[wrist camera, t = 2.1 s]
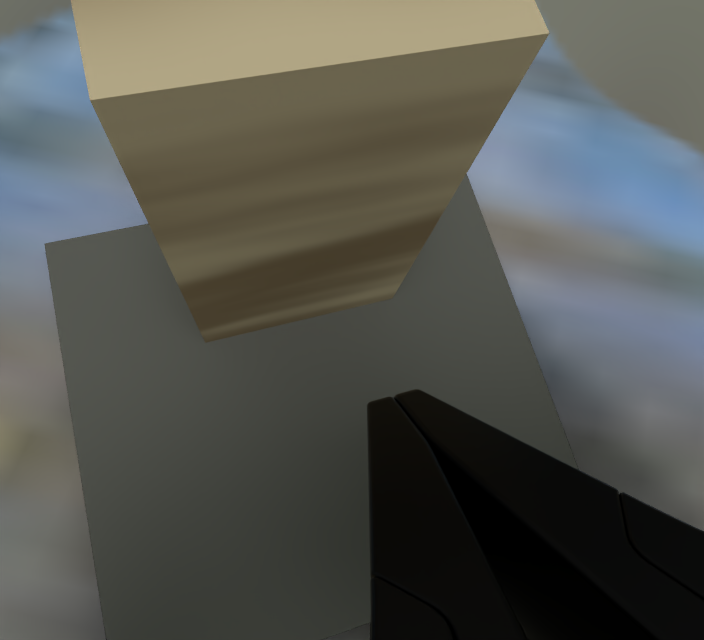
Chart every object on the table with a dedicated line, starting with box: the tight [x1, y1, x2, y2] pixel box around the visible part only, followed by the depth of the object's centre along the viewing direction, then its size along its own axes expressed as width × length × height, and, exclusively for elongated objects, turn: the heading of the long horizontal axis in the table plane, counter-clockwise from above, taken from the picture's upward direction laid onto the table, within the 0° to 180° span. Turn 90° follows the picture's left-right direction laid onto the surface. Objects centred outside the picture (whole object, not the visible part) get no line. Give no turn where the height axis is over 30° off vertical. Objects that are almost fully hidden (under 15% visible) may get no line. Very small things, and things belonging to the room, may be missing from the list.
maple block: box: [71, 0, 549, 343], centre depth 13 cm, size 4×6×11 cm, turn 106°
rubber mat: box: [45, 174, 579, 640], centre depth 17 cm, size 13×14×1 cm
